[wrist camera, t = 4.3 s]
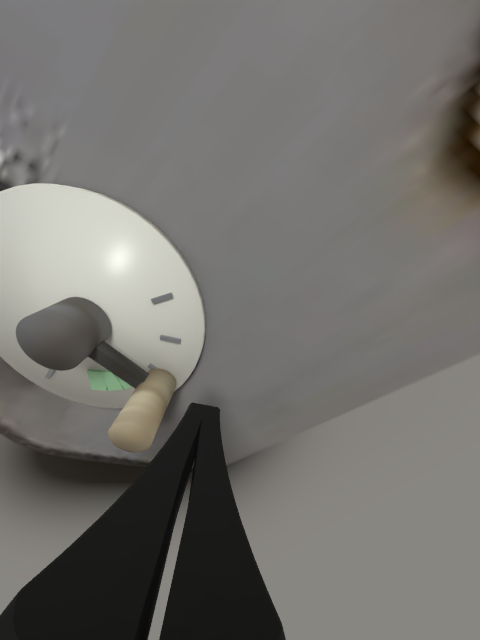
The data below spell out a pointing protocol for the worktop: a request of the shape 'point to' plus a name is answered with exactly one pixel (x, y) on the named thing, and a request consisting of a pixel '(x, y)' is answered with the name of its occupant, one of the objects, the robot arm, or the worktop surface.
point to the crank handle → (89, 341)
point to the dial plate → (96, 286)
